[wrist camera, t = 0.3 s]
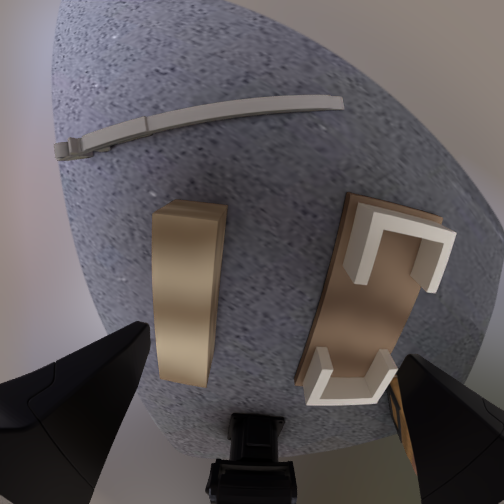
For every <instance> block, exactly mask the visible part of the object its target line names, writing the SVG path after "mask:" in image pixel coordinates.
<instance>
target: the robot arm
mask: <svg viewBox="0 0 504 504" xmlns="http://www.w3.org/2000/svg"><path fill="white" fill-rule="evenodd" d="M150 345H151V341H150V327H149V324H148V323H144V322H140V321H136V322H133V323H131V324H129V325H127V326H126V327H124V328H122V329H120V330H118V331H116V332H114V333H112V334H109V335H107V336H105V337H104V338H101V339H100V340H98V341H95V342H93V343H91V344H90V345H87V346H85V347H83V348H81V349H79V350H77V351H75V352H73V353H71V354H69V355H67V356H65V357H63V358H61V359H59V360H57V361H56V363H55V362H53V363H51V364H49V365H47V366H44V367H42V368H40V369H38V370H36V371H33V372H31V373H28V374H26V375H23V376H21V377H18V378H15V379H12V380H9V381H7V382H4V383H1V384H0V504H89V503H90V500H91V497H92V495H93V492H94V488H95V486H96V484H97V481H98V479H99V476H100V474H101V471H102V468H103V466H104V464H105V461H106V459H107V456H108V454H109V451H110V449H111V446H112V444H113V442H114V439H115V437H116V435H117V432H118V430H119V428H120V425H121V423H122V421H123V418H124V416H125V414H126V412H127V409H128V407H129V405H130V403H131V401H132V398H133V396H134V394H135V392H136V389H137V387H138V384H139V381H140V378H141V375H142V372H143V369H144V366H145V363H146V359H147V356H148V353H149V350H150ZM397 379H398V384H399V389H400V395H401V401H402V407H403V412H404V416H405V420H406V424H407V428H408V432H409V436H410V441H411V445H412V450H413V455H414V460H415V465H416V470H417V476H418V482H419V488H420V495H421V499H422V500H421V503H422V504H504V411H503V410H502V409H500V408H498V407H497V406H495V405H494V404H492V403H490V402H489V401H487V400H486V399H484V398H482V397H481V396H480V395H478V394H477V393H475V392H474V391H472V390H471V389H469V388H468V387H466V386H465V385H463V384H462V383H460V382H459V381H457V380H456V379H454V378H453V377H451V376H450V375H448V374H447V373H445V372H444V371H442V370H441V369H439V368H438V367H436V366H435V365H433V364H432V363H430V362H429V361H427V360H426V359H424V358H423V357H421V356H420V355H418V354H408V355H407V356H406V357H405V359H404V361H403V363H402V364H401V366H400V368H399V370H398V372H397ZM284 423H285V419H284V418H277V417H263V416H252V415H242V414H232V415H231V420H230V426H229V432H228V440H231V448H230V458H229V460H221V459H216V462H215V463H212V464H211V470H210V476H209V479H208V482H207V485H206V489H205V492H206V493H207V494H208V495H209V498H210V501H211V504H296V500H297V485H296V478H295V472H294V467H293V462H292V461H288V462H278V436H279V434H280V432H281V430H282V428H283V425H284Z"/></svg>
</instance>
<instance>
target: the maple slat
mask: <svg viewBox="0 0 504 504" xmlns="http://www.w3.org/2000/svg"><path fill="white" fill-rule="evenodd" d="M227 208H228V205H222V204H214V203H206V202H197V201H188V200H178V199H175V200H174V201H172V202H170V203H169V204H167V205H165V206H164V207H162V208H160V209H159V210H157V211H155V212H154V213H152V286H153V308H154V323H155V336H156V347H157V357H158V366H159V374H160V379H163V380H168V381H172V382H177V383H182V384H187V385H193V386H198V387H204V388H206V387H207V382H208V377H209V373H210V368H211V363H212V359H213V354H214V346H215V332H216V320H217V308H218V296H219V285H220V275H221V264H222V254H223V244H224V235H225V226H226V217H227Z"/></svg>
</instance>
